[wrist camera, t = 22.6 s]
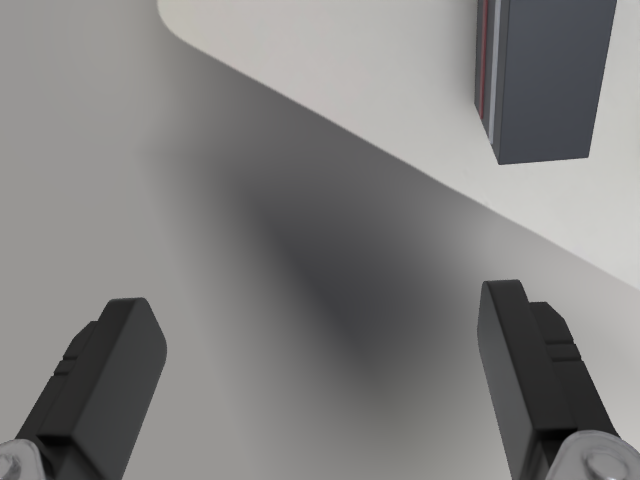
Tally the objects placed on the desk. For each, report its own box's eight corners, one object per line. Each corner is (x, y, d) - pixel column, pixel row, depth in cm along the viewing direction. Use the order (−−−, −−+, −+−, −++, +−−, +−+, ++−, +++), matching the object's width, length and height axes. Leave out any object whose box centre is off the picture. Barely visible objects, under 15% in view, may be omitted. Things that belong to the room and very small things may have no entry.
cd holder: (545, 96, 36) (591, 157, 28) (472, 104, 37) (496, 165, 29) (564, -59, 31) (627, -37, 23) (477, -45, 31) (508, -20, 23)
